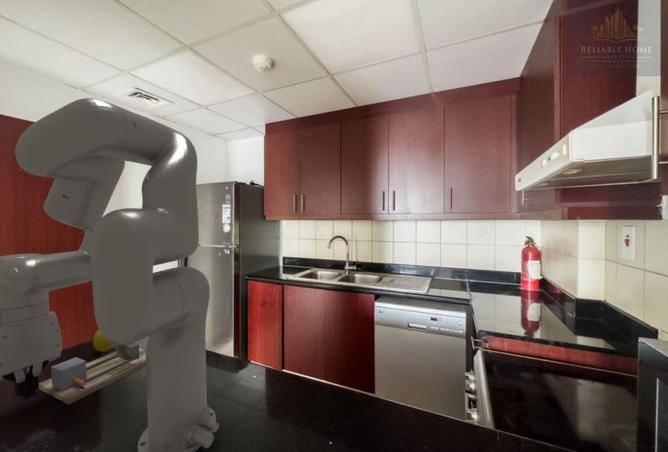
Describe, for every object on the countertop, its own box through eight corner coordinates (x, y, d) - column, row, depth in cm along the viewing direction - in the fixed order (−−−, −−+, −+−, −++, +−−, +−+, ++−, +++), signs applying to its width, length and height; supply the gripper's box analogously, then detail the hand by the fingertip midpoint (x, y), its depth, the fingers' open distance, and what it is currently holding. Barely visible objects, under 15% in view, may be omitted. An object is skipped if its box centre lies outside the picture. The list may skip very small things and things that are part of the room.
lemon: (122, 348, 82) (121, 323, 81) (105, 357, 76) (104, 330, 76) (106, 347, 82) (105, 322, 82) (88, 356, 77) (87, 330, 76)
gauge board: (160, 358, 75) (159, 340, 75) (68, 404, 57) (67, 381, 57) (130, 349, 81) (129, 332, 81) (38, 388, 62) (37, 367, 62)
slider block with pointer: (95, 382, 62) (95, 364, 62) (70, 394, 58) (70, 375, 58) (76, 374, 65) (76, 357, 65) (52, 385, 61) (51, 366, 61)
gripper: (-29, 329, 47) (-24, 427, 48) (78, 303, 61) (81, 379, 61) (-44, 322, 50) (-39, 415, 51) (61, 299, 64) (64, 372, 64)
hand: (27, 395), depth 56 cm, fingers closed
